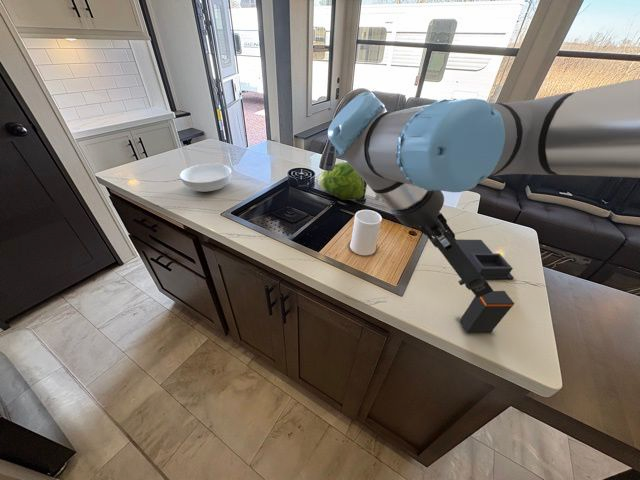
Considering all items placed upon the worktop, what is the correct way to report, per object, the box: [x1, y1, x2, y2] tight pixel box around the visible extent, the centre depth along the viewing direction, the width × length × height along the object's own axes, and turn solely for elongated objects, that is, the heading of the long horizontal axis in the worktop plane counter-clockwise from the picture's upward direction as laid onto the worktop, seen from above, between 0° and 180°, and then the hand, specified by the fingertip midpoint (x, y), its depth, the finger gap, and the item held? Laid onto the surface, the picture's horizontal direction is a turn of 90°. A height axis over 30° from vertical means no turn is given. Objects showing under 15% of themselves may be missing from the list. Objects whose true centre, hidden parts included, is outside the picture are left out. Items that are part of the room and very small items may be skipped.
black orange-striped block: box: [459, 290, 515, 334], centre depth 58 cm, size 4×6×11 cm, turn 92°
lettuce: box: [317, 161, 368, 201], centre depth 108 cm, size 16×21×15 cm
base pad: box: [456, 239, 514, 281], centre depth 80 cm, size 18×12×4 cm, turn 2°
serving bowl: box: [179, 162, 233, 192], centre depth 111 cm, size 21×21×7 cm
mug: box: [349, 209, 383, 256], centre depth 81 cm, size 12×8×12 cm
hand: (465, 265), depth 49 cm, fingers open, 13 cm apart
